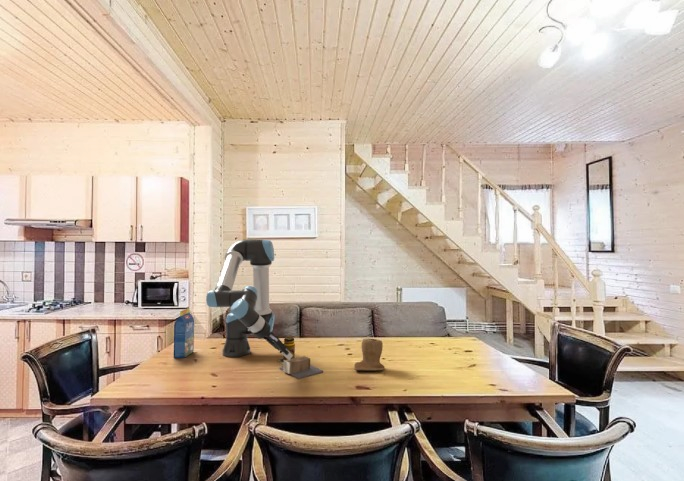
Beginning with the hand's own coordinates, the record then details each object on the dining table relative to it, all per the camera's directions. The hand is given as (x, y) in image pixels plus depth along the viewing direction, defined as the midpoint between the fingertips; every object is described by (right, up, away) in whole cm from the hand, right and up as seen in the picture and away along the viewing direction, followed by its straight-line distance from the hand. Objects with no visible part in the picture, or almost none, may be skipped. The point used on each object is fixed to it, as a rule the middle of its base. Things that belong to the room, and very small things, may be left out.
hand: (290, 357), depth 169 cm
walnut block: (-2, -4, -2) cm, 5 cm away
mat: (+5, -8, +4) cm, 10 cm away
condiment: (-4, -8, +18) cm, 21 cm away
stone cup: (+38, -8, +7) cm, 39 cm away
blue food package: (-63, -8, +28) cm, 69 cm away
